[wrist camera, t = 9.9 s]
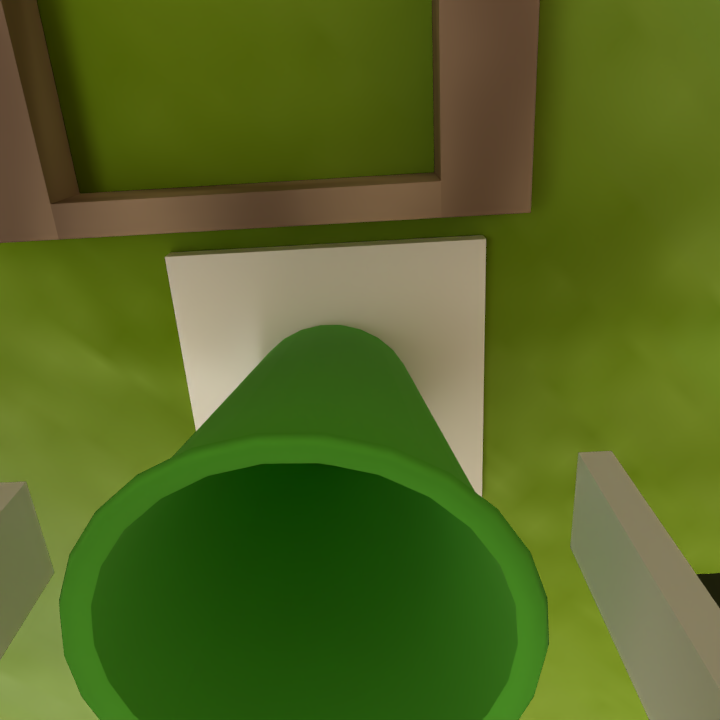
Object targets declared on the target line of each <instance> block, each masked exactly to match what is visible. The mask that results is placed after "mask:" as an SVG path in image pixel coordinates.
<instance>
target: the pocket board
mask: <svg viewBox="0 0 720 720" xmlns="http://www.w3.org/2000/svg"><path fill="white" fill-rule="evenodd" d="M539 6H540V0H432V40H433V109H434V172H433V173H416V174H399V175H382V176H366V177H349V178H332V179H315V180H299V181H282V182H265V183H248V184H231V185H215V186H198V187H181V188H164V189H148V190H131V191H114V192H97V193H79V188H78V184H77V179H76V175H75V170H74V166H73V161H72V157H71V153H70V148H69V144H68V139H67V135H66V130H65V126H64V121H63V117H62V112H61V108H60V103H59V99H58V94H57V90H56V85H55V81H54V76H53V72H52V67H51V63H50V58H49V54H48V49H47V45H46V40H45V36H44V31H43V27H42V23H41V18H40V14H39V9H38V5H37V0H0V243H5V242H23V241H40V240H58V239H75V238H93V237H110V236H128V235H145V234H163V233H180V232H198V231H216V230H233V229H251V228H268V227H286V226H303V225H321V224H338V223H356V222H373V221H391V220H408V219H426V218H444V217H461V216H479V215H496V214H514V213H531V195H532V171H533V148H534V124H535V101H536V77H537V54H538V30H539Z"/></svg>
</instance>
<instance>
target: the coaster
mask: <svg viewBox="0 0 720 720" xmlns="http://www.w3.org/2000/svg"><path fill="white" fill-rule="evenodd" d="M165 261H166V267H167V272H168V278H169V283H170V289H171V295H172V300H173V306H174V311H175V317H176V322H177V328H178V333H179V339H180V345H181V350H182V356H183V361H184V367H185V372H186V378H187V384H188V389H189V395H190V400H191V406H192V411H193V417H194V422H195V428H196V431H197V430H198V429H199V428H200V427H201V425H202V424H203V423H204V422H205V421H206V420H207V419H208V418H209V417H210V416H211V415H212V414H213V412H214V411H215V410H216V409H217V408H218V407H219V406H220V405H221V404H222V403H223V402H224V401H225V400H226V398H227V397H228V396H229V395H230V394H231V393H232V392H233V391H234V390H235V389H236V388H237V387H238V386H239V384H240V383H241V382H242V381H243V380H244V379H245V378H246V377H247V376H248V375H249V374H250V373H251V371H252V370H253V369H254V368H255V367H256V366H257V365H258V364H259V363H260V362H261V361H262V360H263V359H264V357H265V356H266V355H267V354H268V353H269V352H270V351H271V350H272V349H273V348H274V347H276V346H277V345H278V344H279V343H280V342H281V341H282V340H283V339H285V338H287V337H289V336H290V335H292V334H294V333H296V332H298V331H300V330H303V329H307V328H311V327H315V326H319V325H343V326H348V327H353V328H357V329H361V330H363V331H365V332H367V333H369V334H371V335H373V336H376V337H378V338H379V339H380V340H381V341H383V342H384V343H385V344H386V345H388V346H389V347H390V348H391V349H393V351H394V352H395V353H396V355H397V356H398V357H399V359H400V360H401V361H402V363H403V364H404V366H405V367H406V369H407V371H408V373H409V375H410V376H411V378H412V380H413V382H414V383H415V385H416V387H417V389H418V391H419V392H420V394H421V396H422V398H423V400H424V401H425V403H426V405H427V407H428V408H429V410H430V412H431V414H432V416H433V417H434V419H435V421H436V423H437V425H438V426H439V428H440V430H441V432H442V433H443V435H444V437H445V439H446V441H447V442H448V444H449V446H450V448H451V450H452V451H453V453H454V455H455V457H456V458H457V460H458V462H459V464H460V466H461V467H462V469H463V471H464V473H465V475H466V476H467V478H468V480H469V482H470V483H471V485H472V487H473V489H474V491H475V492H476V493H477V494H478V495H480V496H481V497H482V463H483V401H484V340H485V278H486V238H485V237H484V236H483V235H474V236H456V237H438V238H420V239H402V240H384V241H366V242H348V243H331V244H313V245H295V246H277V247H259V248H241V249H223V250H205V251H187V252H170V253H169V254H168V255H167V256H165Z"/></svg>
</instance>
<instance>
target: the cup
mask: <svg viewBox="0 0 720 720" xmlns="http://www.w3.org/2000/svg"><path fill="white" fill-rule="evenodd" d="M59 606H60V619H61V629H62V638H63V648H64V656H65V659H66V661H67V663H68V666H69V668H70V670H71V673H72V675H73V677H74V680H75V682H76V684H77V687H78V689H79V691H80V694H81V696H82V698H83V699H84V700H85V701H86V703H87V704H88V705H89V707H90V708H91V709H92V710H93V712H94V713H95V714H96V716H97V717H98V718H99V719H100V720H519V718H520V717H521V715H522V714H523V712H524V711H525V709H526V708H527V706H528V705H529V703H530V701H531V700H532V698H533V697H534V694H535V690H536V687H537V683H538V680H539V677H540V673H541V670H542V666H543V663H544V659H545V656H546V652H547V649H548V645H549V631H548V602H547V596H546V593H545V591H544V588H543V585H542V582H541V580H540V577H539V574H538V572H537V569H536V566H535V563H534V561H533V558H532V555H531V553H530V551H529V550H528V549H527V547H526V546H525V545H524V543H523V542H522V541H521V539H520V538H519V537H518V535H517V534H516V533H515V531H514V530H513V529H512V527H511V526H510V525H509V524H508V522H507V521H506V520H505V518H504V517H503V516H502V514H501V513H500V512H499V510H498V509H497V508H495V507H494V506H493V505H491V504H490V503H489V502H488V501H486V500H485V499H484V498H482V497H481V496H480V495H478V494H477V493H476V492H475V491H474V489H473V487H472V485H471V483H470V482H469V480H468V478H467V476H466V475H465V473H464V471H463V469H462V467H461V466H460V464H459V462H458V460H457V458H456V457H455V455H454V453H453V451H452V450H451V448H450V446H449V444H448V442H447V441H446V439H445V437H444V435H443V433H442V432H441V430H440V428H439V426H438V425H437V423H436V421H435V419H434V417H433V416H432V414H431V412H430V410H429V408H428V407H427V405H426V403H425V401H424V400H423V398H422V396H421V394H420V392H419V391H418V389H417V387H416V385H415V383H414V382H413V380H412V378H411V376H410V375H409V373H408V371H407V369H406V367H405V366H404V364H403V363H402V361H401V360H400V359H399V357H398V356H397V355H396V353H395V352H394V351H393V349H391V348H390V347H389V346H388V345H386V344H385V343H384V342H383V341H381V340H380V339H379V338H378V337H376V336H373V335H371V334H369V333H367V332H365V331H363V330H361V329H357V328H353V327H348V326H343V325H319V326H315V327H311V328H307V329H303V330H300V331H298V332H296V333H294V334H292V335H290V336H289V337H287V338H285V339H283V340H282V341H281V342H280V343H279V344H278V345H277V346H276V347H274V348H273V349H272V350H271V351H270V352H269V353H268V354H267V355H266V356H265V357H264V359H263V360H262V361H261V362H260V363H259V364H258V365H257V366H256V367H255V368H254V369H253V370H252V371H251V373H250V374H249V375H248V376H247V377H246V378H245V379H244V380H243V381H242V382H241V383H240V384H239V386H238V387H237V388H236V389H235V390H234V391H233V392H232V393H231V394H230V395H229V396H228V397H227V398H226V400H225V401H224V402H223V403H222V404H221V405H220V406H219V407H218V408H217V409H216V410H215V411H214V412H213V414H212V415H211V416H210V417H209V418H208V419H207V420H206V421H205V422H204V423H203V424H202V425H201V427H200V428H199V429H198V430H197V431H196V432H195V433H194V434H193V435H192V436H191V437H190V438H189V439H188V441H187V442H186V443H185V444H184V445H183V446H182V447H181V448H180V449H179V450H178V451H177V452H176V453H175V455H174V456H173V457H172V458H170V459H168V460H166V461H164V462H162V463H160V464H158V465H156V466H154V467H152V468H150V469H148V470H146V471H144V472H142V473H140V474H138V475H136V476H135V477H134V478H133V479H132V480H131V481H130V482H129V483H127V484H126V485H125V486H124V487H123V488H122V489H121V490H120V491H118V492H117V493H116V494H115V495H114V496H113V497H112V498H110V499H109V500H108V501H107V502H106V503H105V504H104V505H103V506H101V507H100V508H99V509H98V510H97V511H96V512H95V513H94V515H93V517H92V518H91V520H90V522H89V523H88V525H87V527H86V528H85V530H84V532H83V533H82V535H81V537H80V538H79V540H78V541H77V543H76V545H75V546H74V548H73V550H72V551H71V553H70V555H69V559H68V563H67V568H66V572H65V577H64V581H63V585H62V590H61V594H60V599H59Z"/></svg>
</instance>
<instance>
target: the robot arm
mask: <svg viewBox="0 0 720 720" xmlns="http://www.w3.org/2000/svg"><path fill="white" fill-rule="evenodd" d="M570 547H571V549H572V552H573V554H574V556H575V558H576V560H577V563H578V565H579V567H580V569H581V571H582V573H583V576H584V578H585V580H586V582H587V584H588V587H589V589H590V591H591V593H592V595H593V598H594V600H595V602H596V604H597V606H598V608H599V611H600V613H601V615H602V617H603V619H604V622H605V624H606V626H607V628H608V630H609V633H610V635H611V637H612V639H613V641H614V643H615V646H616V648H617V650H618V652H619V654H620V657H621V659H622V661H623V663H624V665H625V668H626V670H627V672H628V674H629V676H630V679H631V681H632V683H633V685H634V687H635V689H636V692H637V694H638V696H639V698H640V700H641V703H642V705H643V707H644V709H645V711H646V714H647V716H648V718H649V720H720V573H714V574H696V573H695V572H694V570H693V569H692V567H691V566H690V565H689V563H688V562H687V560H686V559H685V557H684V556H683V554H682V553H681V551H680V550H679V549H678V547H677V546H676V544H675V543H674V541H673V540H672V538H671V537H670V535H669V534H668V533H667V531H666V530H665V528H664V527H663V525H662V524H661V522H660V521H659V519H658V518H657V517H656V515H655V514H654V512H653V511H652V509H651V508H650V506H649V505H648V503H647V502H646V501H645V499H644V498H643V496H642V495H641V493H640V492H639V490H638V489H637V487H636V486H635V485H634V483H633V482H632V480H631V479H630V477H629V476H628V474H627V473H626V471H625V470H624V469H623V467H622V466H621V464H620V463H619V461H618V460H617V458H616V457H615V455H614V454H613V453H612V451H600V452H581V453H578V464H577V476H576V488H575V499H574V511H573V523H572V535H571V546H570ZM53 574H54V569H53V566H52V563H51V560H50V557H49V553H48V550H47V547H46V544H45V541H44V537H43V534H42V531H41V528H40V525H39V521H38V518H37V515H36V512H35V508H34V505H33V502H32V499H31V496H30V492H29V489H28V486H27V483H26V482H7V483H0V659H1V658H2V656H3V655H4V653H5V651H6V650H7V648H8V646H9V645H10V643H11V642H12V640H13V638H14V637H15V635H16V634H17V632H18V630H19V629H20V627H21V626H22V624H23V622H24V621H25V619H26V617H27V616H28V614H29V613H30V611H31V609H32V608H33V606H34V605H35V603H36V601H37V600H38V598H39V597H40V595H41V593H42V592H43V590H44V588H45V587H46V585H47V584H48V582H49V580H50V579H51V577H52V576H53Z"/></svg>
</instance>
